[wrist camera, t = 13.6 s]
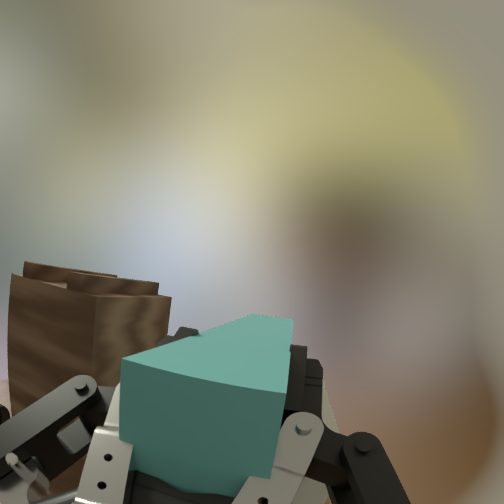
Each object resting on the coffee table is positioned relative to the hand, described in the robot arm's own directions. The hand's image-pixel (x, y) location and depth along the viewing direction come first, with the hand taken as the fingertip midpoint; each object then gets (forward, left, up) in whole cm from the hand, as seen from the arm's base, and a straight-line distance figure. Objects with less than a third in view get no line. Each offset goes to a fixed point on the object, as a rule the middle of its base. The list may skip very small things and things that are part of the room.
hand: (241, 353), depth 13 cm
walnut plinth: (-5, +24, -32) cm, 40 cm away
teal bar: (+4, +4, -3) cm, 6 cm away
